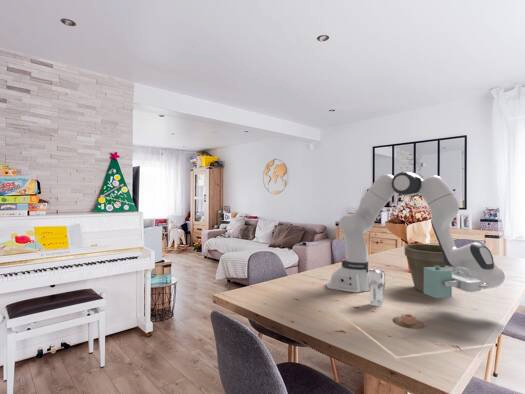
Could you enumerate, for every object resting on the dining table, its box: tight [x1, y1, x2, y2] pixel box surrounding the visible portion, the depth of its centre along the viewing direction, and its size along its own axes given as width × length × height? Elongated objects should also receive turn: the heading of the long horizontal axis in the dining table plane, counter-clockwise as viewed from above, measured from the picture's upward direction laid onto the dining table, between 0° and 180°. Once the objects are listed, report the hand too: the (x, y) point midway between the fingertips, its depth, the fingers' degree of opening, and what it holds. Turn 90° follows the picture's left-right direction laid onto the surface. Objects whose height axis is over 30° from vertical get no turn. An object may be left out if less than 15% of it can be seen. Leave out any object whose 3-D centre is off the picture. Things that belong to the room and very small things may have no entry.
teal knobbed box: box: [423, 265, 453, 300], centre depth 117 cm, size 7×7×11 cm
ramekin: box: [400, 313, 417, 325], centre depth 113 cm, size 3×3×2 cm
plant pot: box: [404, 243, 446, 293], centre depth 156 cm, size 25×25×22 cm
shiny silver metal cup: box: [368, 268, 386, 307], centre depth 134 cm, size 7×7×15 cm
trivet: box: [392, 316, 426, 330], centre depth 113 cm, size 11×11×1 cm
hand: (435, 280), depth 116 cm, fingers closed on teal knobbed box, 7 cm apart
